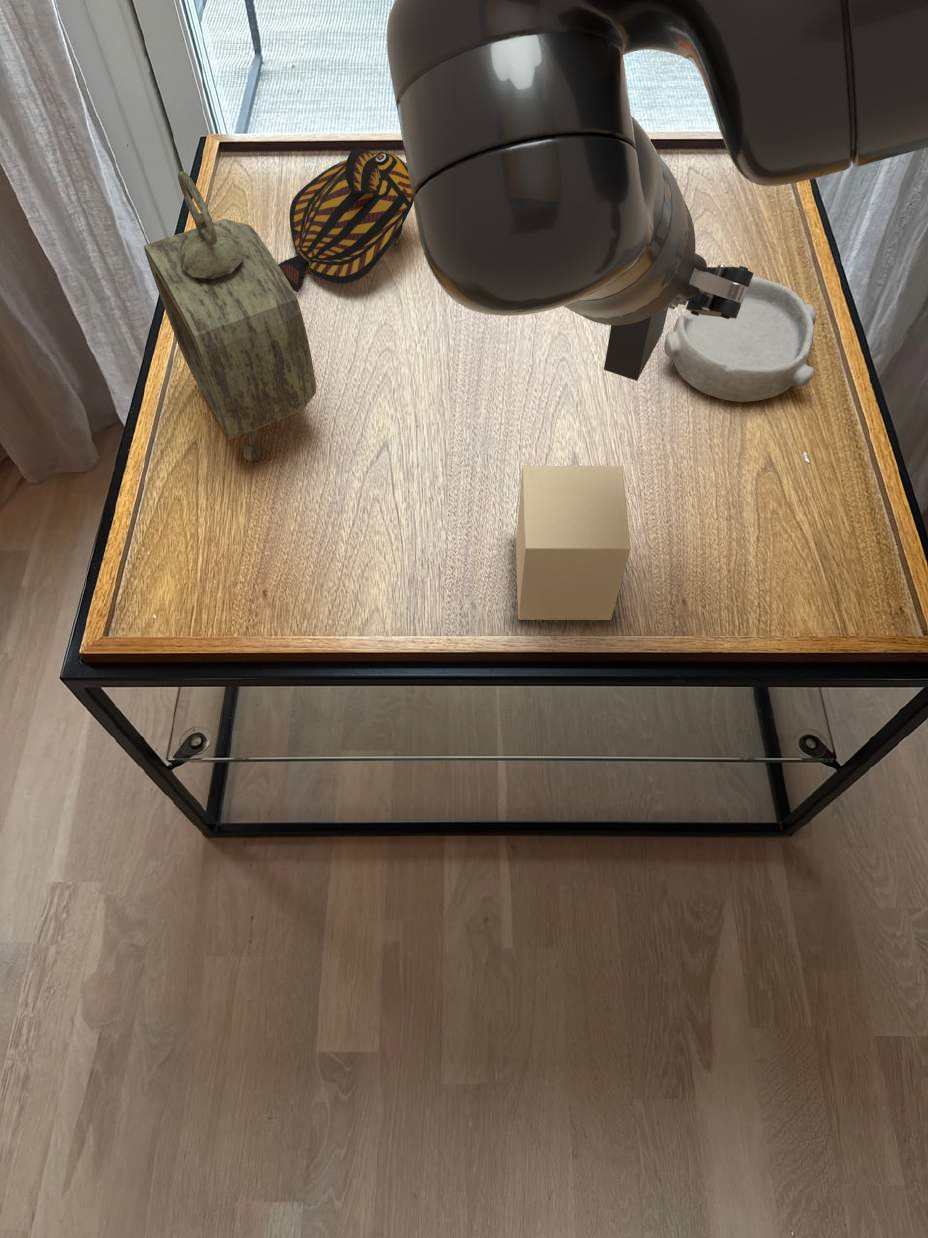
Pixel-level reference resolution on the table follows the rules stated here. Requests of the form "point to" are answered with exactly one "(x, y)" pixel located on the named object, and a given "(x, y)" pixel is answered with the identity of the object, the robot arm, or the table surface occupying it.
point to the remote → (633, 345)
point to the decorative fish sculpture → (348, 218)
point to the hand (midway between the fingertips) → (652, 283)
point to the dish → (747, 346)
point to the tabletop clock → (234, 321)
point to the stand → (571, 542)
